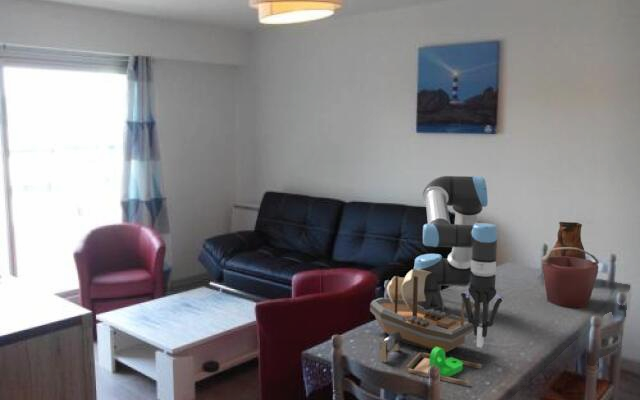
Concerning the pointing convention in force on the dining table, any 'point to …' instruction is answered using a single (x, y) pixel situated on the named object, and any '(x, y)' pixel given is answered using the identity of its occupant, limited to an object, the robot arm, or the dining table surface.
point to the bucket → (569, 278)
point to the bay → (424, 367)
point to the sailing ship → (418, 315)
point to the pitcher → (569, 240)
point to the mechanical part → (445, 362)
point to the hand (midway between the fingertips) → (479, 345)
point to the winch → (390, 345)
